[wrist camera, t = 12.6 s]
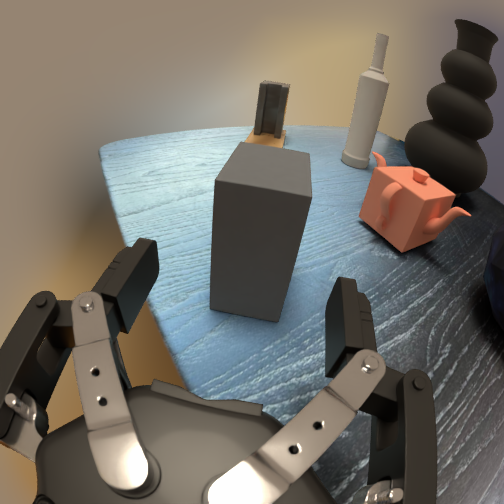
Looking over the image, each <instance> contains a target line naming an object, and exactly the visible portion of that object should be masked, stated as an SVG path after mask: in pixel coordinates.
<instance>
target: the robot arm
mask: <svg viewBox="0 0 504 504" xmlns="http://www.w3.org/2000/svg"><path fill="white" fill-rule="evenodd" d="M158 274H159V259H158V250H157V242H156V241H155V240H150V239H145V238H139V239H138V240H137V241H136V242H135V244H134V245H133V246H132V247H128V246H127V247H126V248H125V249H123V250H122V251H120V252H119V253H118V254H117V255H116V257H115V258H114V259H113V262H111V263H110V265H109V266H108V268H107V269H106V270H105V272H104V273H103V274H102V276H101V277H100V279H99V280H98V282H97V283H96V285H95V286H94V287H93V289H92V290H91V291H90V292H84V293H81V294H79V295H78V296H77V297H76V298H75V299H74V300H73V301H70V300H68V301H67V300H61V301H60V300H57V299H56V297H55V295H54V294H53V293H52V292H50V291H41V292H39V293H37V294H36V295H34V296H33V297H32V298H31V300H30V301H29V303H28V304H27V306H26V307H25V309H24V310H23V312H22V313H21V315H20V316H19V318H18V320H17V321H16V323H15V325H14V326H13V328H12V330H11V331H10V333H9V334H8V336H7V338H6V340H5V341H4V343H3V345H2V347H1V349H0V444H2V445H3V446H5V447H7V448H11V449H12V450H14V451H16V452H18V453H20V454H21V455H23V456H25V457H26V458H28V459H29V460H31V461H33V462H34V463H35V464H36V472H37V495H36V498H35V500H34V502H33V504H337V503H336V502H335V500H334V499H333V497H332V496H331V495H330V493H329V492H328V490H327V489H326V487H325V486H324V485H323V483H322V482H321V480H320V479H319V477H318V476H317V474H316V473H315V471H314V470H313V468H312V467H311V465H312V464H313V463H314V462H315V461H316V460H317V459H318V458H319V457H320V456H321V455H322V454H323V453H324V452H325V451H326V450H327V449H328V447H329V446H330V445H331V444H332V443H333V442H334V441H335V440H336V439H337V437H338V436H339V435H340V434H341V433H342V432H343V430H344V429H345V428H346V427H347V426H348V424H349V423H350V422H351V421H352V420H353V418H354V417H355V416H356V414H357V413H358V412H357V411H358V410H360V411H363V412H365V413H368V414H371V415H372V420H371V443H370V459H369V471H368V481H367V486H365V487H363V488H361V489H360V490H358V492H357V493H356V494H355V496H354V498H353V501H352V504H436V494H437V437H436V420H435V408H434V398H433V389H432V383H431V380H430V378H429V377H428V375H427V374H426V373H424V372H423V371H421V370H417V369H413V370H410V371H408V372H407V373H406V374H403V373H401V372H398V371H396V370H393V369H391V368H389V367H388V366H386V363H385V361H384V359H383V357H382V356H381V355H380V354H378V353H377V347H376V339H375V332H374V325H373V318H372V314H371V313H372V312H371V306H370V302H369V300H368V299H367V297H366V295H365V294H364V293H360V292H358V291H357V284H356V280H355V279H350V278H344V277H338V278H337V280H336V282H335V285H334V287H333V290H332V292H331V294H330V297H329V299H328V301H327V305H326V311H325V339H326V349H325V377H329V378H333V380H332V381H331V382H330V383H329V384H328V385H327V386H326V387H324V388H323V389H322V390H321V391H320V392H319V393H318V394H317V395H316V396H315V397H314V398H313V399H312V400H311V401H310V402H309V403H308V404H307V405H306V406H305V407H304V408H303V409H302V410H301V411H300V412H299V413H298V414H297V415H296V416H295V417H294V418H293V419H292V420H291V421H289V422H288V423H287V424H286V425H285V426H284V425H283V424H282V423H280V422H279V421H278V420H277V419H276V418H274V417H273V416H271V415H269V414H268V413H265V412H263V411H262V409H263V404H257V403H252V402H246V401H241V400H236V399H233V400H206V399H203V398H201V397H199V396H197V395H195V394H193V393H191V392H189V391H187V390H185V389H184V388H182V387H180V386H177V385H173V384H170V383H166V382H163V381H159V380H156V379H154V380H153V382H152V385H145V386H144V385H143V386H136V387H133V388H132V386H131V383H130V381H129V378H128V376H127V373H126V370H125V366H124V363H123V359H122V356H121V352H120V348H119V345H118V341H117V338H116V337H117V335H118V334H119V332H123V333H126V334H128V333H129V331H130V329H131V326H132V325H133V323H134V321H135V319H136V317H137V315H138V313H139V312H140V309H141V308H142V306H143V303H144V302H145V300H146V298H147V296H148V295H149V293H150V291H151V289H152V287H153V285H154V284H155V282H156V280H157V278H158ZM44 338H45V339H44ZM43 340H44V341H43ZM42 342H43V343H42ZM41 344H42V345H41ZM40 346H41V347H40ZM39 347H40V348H39ZM38 349H39V350H38ZM71 351H72V354H73V361H74V367H75V373H76V379H77V384H78V389H79V394H80V399H81V403H82V408H83V412H84V414H83V415H81V416H80V417H78V418H76V419H74V420H73V421H71V422H69V423H67V424H65V425H63V426H62V427H60V428H58V429H56V430H54V431H52V432H51V433H49V434H47V431H48V429H49V424H48V415H47V412H46V408H47V405H48V403H49V400H50V398H51V395H52V393H53V391H54V388H55V386H56V384H57V382H58V379H59V377H60V375H61V373H62V370H63V368H64V366H65V364H66V362H67V359H68V358H69V356H70V354H71Z"/></svg>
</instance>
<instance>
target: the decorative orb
mask: <svg viewBox="0 0 504 504" xmlns="http://www.w3.org/2000/svg"><path fill="white" fill-rule="evenodd" d="M483 277H484V281H485V285H486V288H487V292H488V296H489V300H490V304H491V309H492V313H493V317H494V318H495V320H496V321H497V323H498V324H499V326H500V327H501V328H502V330H503V331H504V223H503V224H502V225H501V226H500V228H499V229H498V230H497V231H496V232H495V233H494V234H493V239H492V243H491V248H490V252H489V256H488V260H487V264H486V268H485V272H484V275H483Z"/></svg>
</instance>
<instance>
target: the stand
mask: <svg viewBox="0 0 504 504" xmlns="http://www.w3.org/2000/svg"><path fill="white" fill-rule="evenodd" d="M289 87H290V84H285V83H278V82H272V81H263V82H262V83H260V88H259V96H258V104H257V111H256V119H255V126H254V128H253V130H252V132H251V133H250V135H249V136H248V138H247V139H246V141H245V142H247V143H254V144H260V145H266V146H272V147H278V148H283V144H284V139H285V134H286V130H283V125H284V118H285V113H286V106H287V100H288V94H289Z"/></svg>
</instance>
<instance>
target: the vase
mask: <svg viewBox="0 0 504 504" xmlns="http://www.w3.org/2000/svg"><path fill="white" fill-rule="evenodd" d="M455 24H456V27H457V30H458V39H457V49H455V50H452V51H450V52H449V53H447V54H446V55H445V56H444V57H443V59H442V61H441V71H442V74H443V77H444V79H445V81H446V83H441V84H439V85H437V86H435V87H433V88H432V89H431V90H430V91H429V93H428V95H427V106H428V109H429V112H430V114H431V115H432V117H433V120H428V121H423V122H419V123H417V124H415V125H414V126H413V127H412V128H411V129H410V130H409V131H408V133H407V135H406V138H405V153H406V156H407V158H408V160H409V162H410V164H411V165H412V166H413V167H414V168H419V169H422V170H424V171H426V172H427V173H428V174H429V177H430V178H432V179H433V180H435V181H436V182H438V183H439V184H441V185H442V186H444V187H445V188H447V189H448V190H450V191H451V192H453V193H454V194H455V195H456V196H455V198H457V197H459V196H460V195H461V193H468V192H472V191H474V190H476V189H478V188H479V187H480V186H481V185H482V183H483V182H484V180H485V178H486V175H487V161H486V157H485V154H484V152H483V151H482V149H481V147H480V146H479V144H478V142H477V140H478V139H481V138H484V137H486V136H487V135H488V134H489V133H490V132H491V130H492V128H493V117H492V113H491V111H490V109H489V107H488V105H487V103H486V102H485V100H486V99H487V98H489V97H491V96H492V95H493V94H494V93H495V91H496V88H497V81H496V76H495V74H494V72H493V69H492V67H491V66H490V64H489V60H490V55H491V51H492V47H493V45H494V44H495V43H496V42H497V41H498V38H497V36H496V35H495V34H494V33H492V32H491V31H489V30H488V29H486V28H485V27H483V26H481V25H478V24H476V23H473V22H470V21H467V20H462V19H457V20H455Z"/></svg>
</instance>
